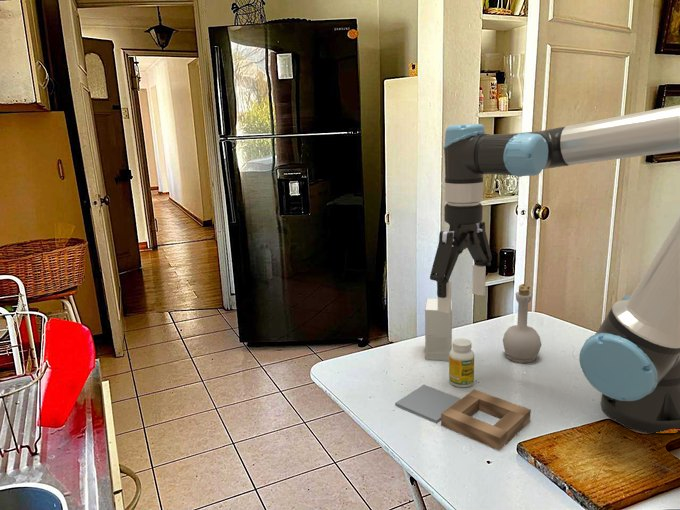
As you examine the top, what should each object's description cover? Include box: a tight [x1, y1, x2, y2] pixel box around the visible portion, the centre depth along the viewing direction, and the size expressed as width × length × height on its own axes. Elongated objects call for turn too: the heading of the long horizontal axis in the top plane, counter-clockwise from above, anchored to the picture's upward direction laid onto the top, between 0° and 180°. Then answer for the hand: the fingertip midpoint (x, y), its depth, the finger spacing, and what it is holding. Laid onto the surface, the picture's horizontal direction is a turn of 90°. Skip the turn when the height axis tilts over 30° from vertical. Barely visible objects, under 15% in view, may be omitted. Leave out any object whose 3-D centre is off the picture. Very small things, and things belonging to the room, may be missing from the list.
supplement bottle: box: [448, 338, 475, 388], centre depth 114 cm, size 5×5×10 cm
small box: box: [424, 298, 453, 362], centre depth 128 cm, size 8×6×13 cm
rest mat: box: [394, 384, 462, 424], centre depth 107 cm, size 10×10×1 cm
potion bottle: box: [502, 283, 542, 364], centre depth 124 cm, size 9×9×18 cm
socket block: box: [440, 389, 532, 451], centre depth 99 cm, size 12×12×2 cm
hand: (462, 302), depth 111 cm, fingers open, 13 cm apart
